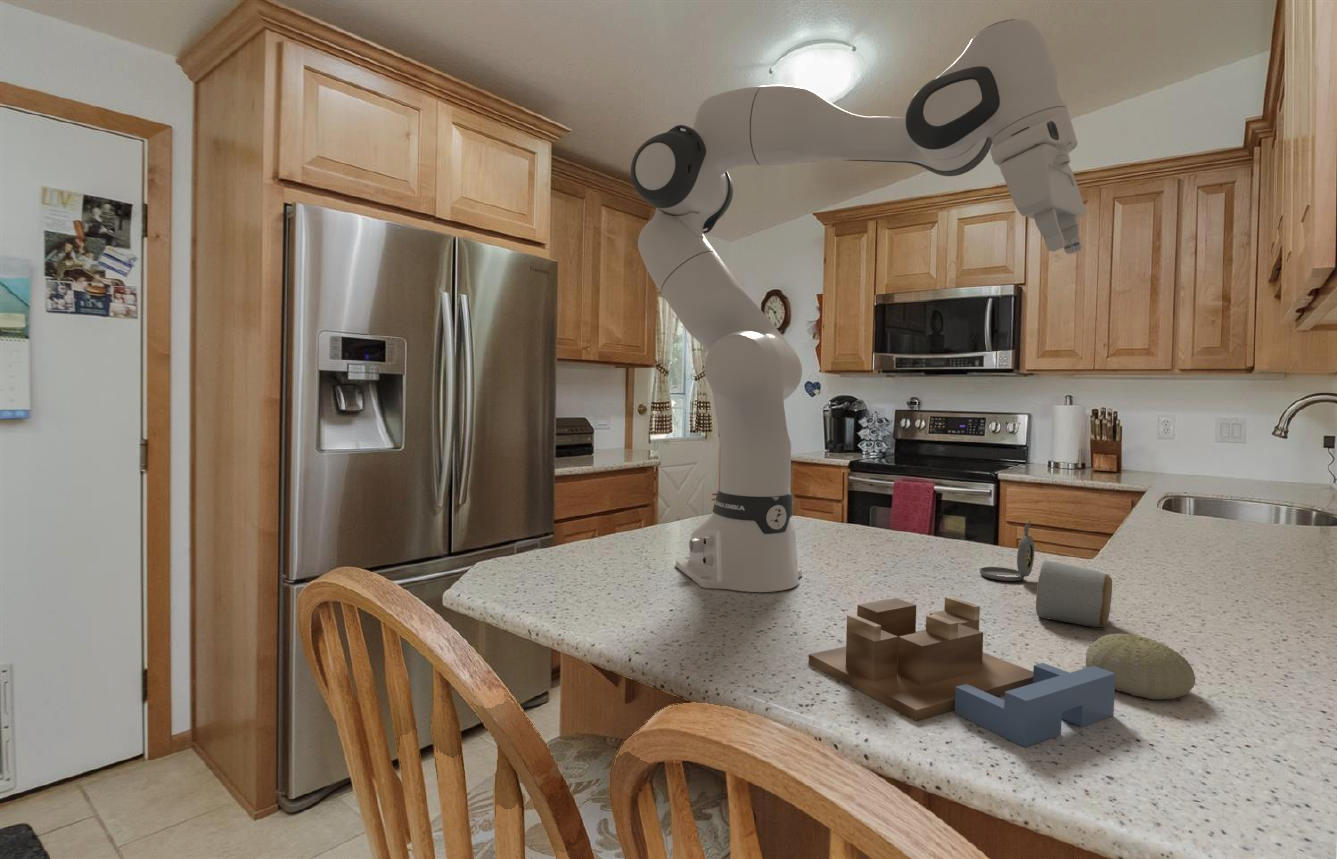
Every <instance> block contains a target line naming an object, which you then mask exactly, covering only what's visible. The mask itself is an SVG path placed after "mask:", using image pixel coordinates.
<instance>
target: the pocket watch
mask: <svg viewBox="0 0 1337 859" xmlns="http://www.w3.org/2000/svg"><path fill="white" fill-rule="evenodd" d="M1031 523H1032V521H1031V520H1028V521H1027V522H1026V524H1025V526H1024V528H1023V534H1024V535H1023V536H1022V537H1021V539H1020V541H1019V544H1018V548H1017V555H1016V566H1017V569H1013V568H1008V567H1002V566H1000V567H999V566H985V567H981V568H979V574H980V575H981V576H983V577H985V578H988V579H992V580H995V579H996V581H1004V582H1017V581H1022V580H1023V579H1025V577H1029V576H1030V574H1031V572H1032V570H1033V566H1034V560H1035V542H1034V538H1033V537H1032V536H1030V535H1029V531H1030V528H1031ZM997 575H1016V576H1018V577H1005V576H997Z"/></svg>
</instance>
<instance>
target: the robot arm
mask: <svg viewBox="0 0 1337 859" xmlns="http://www.w3.org/2000/svg"><path fill="white" fill-rule="evenodd" d="M1054 64H1055V63H1054V61H1053V58H1052V55H1051V53H1050V50H1049V47H1048V45H1047V43H1046V41H1045V39H1044V36H1043V35H1042V33H1041V31H1040V30H1039V28H1038V27H1037V26H1036V25H1035V24H1034V23H1033V22H1032V21H1029V20H1026V19H1019V18H1018V19H1017V18H1016V19H1014V18H1013V19H1006V20H1002V21H997V22H995V23H993V24H991V25H989V26H987V27H985V28H984V29H982V30H980V31H979V32H978V33H976V34H975V35H974V36H973V37H972V39H971V40H970V42H969V44H968V45H967V47H966V48H965V50H964V51H963V53H961V55H959V57H958V58H957V59H956V60H955V61H954V62H953V63H952V64H951V65H950V66H949V67H948V68H947V69H945V70H944V71H943V72H942V73H941V74H939V75H938V76H937V77H936V78H934V79H931V80H930V81H928V82H926V83H925V84H924V85H922V87H921V88H919V89H918V90H917V91H916V92H915V94H914V95H913V96H912V98H911V100H910V102H909V103H908V107H907V109H906V113H905V116H864V115H858V114H855V113H852V112H848V111H846V110H844V109H842V108H840V107H838V106H836V105H835V104H833V103H831V102H830V101H829V100H826V99H825V98H824V97H822V96H821V95H820V94H818V93H817V92H814V91H813V90H812V89H809V88H805V87H799V86H793V85H785V84H775V85H774V84H770V85H759V86H748V87H743V88H738V89H732V90H728V91H724V92H721V93H718V94H714V95H712V96H709V97H708V98H706V99H705V100H704V101H703V102H701V104H700V105H699V107H698V109H697V111H696V113H695V118H694V124H693V127H690V126H688V125H684V124H678V125H675V126H674V127H672V128H671V129H669V130H668V131H667V132H663V133H660V134H656V135H654V136H653V137H650V138H649V139H647V140H646V141H645V142H644V143H643V144H641V146H639V147H638V149H637V150H636V152H635V153H634V155H633V158H632V160H631V161H632V162H631V164H630V178H631V183H632V185H633V186H634V189H635V191H636V192H637V194H638V195H639V196H640V198H642V199H643V200H644V201H645V202H646V203H647V204H649V205H650V206H652V207H654V208H655V211H654V215H653V217H652V219H650V220H648V222H647V223H646V224H645V225H644V226H643V228H642V229H641V231H640V233H639V236H638V239H637V247H638V252H639V254H640V257H641V259H642V261H643V264H644V266H645V268H646V271H647V272H648V273H649V275H650V278H651V279H652V281H653V283H654V285H655V286H656V288H657V289H658V291H659V292H660V294H661V296H662V297H663V298H664V300H665V301H666V303H668V305H669V307H670V308H671V310H672V311H673V313H674V315H676V317H677V318H678V320H679V321H680V322H681V324H682V326H683V327H684V328H685V330H686V331H687V333H688V334H689V335H690V336H692V337H693V338H694V339H695V340H696V341H697V342H698V343H699V344H700V345H702V347H703V348H704V349H705V350H706V351H707V354H706V356H705V361H704V375H705V378H706V380H707V383H708V385H709V386H710V389H711V393H712V398H713V404H714V411H715V415H716V423H717V428H718V433H719V434H718V436H719V445H720V446H719V447H720V448H719V449H720V451H719V453H720V456H719V458H720V460H719V463H720V465H719V466H720V467H719V490H718V491H717V492H716V493H715V492H714V493H711V496H716V497H714V498H713V497H712V498H711V501H714V504H713V507H712V512H713V513H712V514H711V515H710V516H709V517H708V518H706V520H705V521H704V522H703V523H701V524H700V525H699V526H698V527H697V528H696V529H695V530H694V531H692V533H691V536H690V540H689V541H688V542H689V543H688V546H689V555H688V556H684V557H681V558H678V559H676V560H675V565H674V566H675V567H676V568H678V570H680V571H681V572H682V573H684V575H686V576H688V577H689V578H690V579H691V580H693V581H694V582H695V583H696V584H698V585H699V586H700V587H702V588H704V589H719V590H720V589H723V590H724V589H725V590H731V591H740V592H749V593H750V592H752V593H769V592H779V591H785V590H786V591H787V590H790V589H792V588H795V587H797V586H798V585H799V583H800V580H799V578H800V577H801V576H802V575H803V573H802V572H803V571H802V568H801V567H799V566H798V552H797V541H796V540H797V538H796V527H795V526H794V524H792V522H791V517H792V516H793V515H794V514H793V512H794V511H793V510H794V509H793V508H794V500H793V498H794V496H793V493H791V472H792V471H791V469H792V468H791V464H792V463H791V462H792V458H791V457H792V441H791V439H790V437H789V436H790V435H789V431H788V427H787V418H786V412H785V403H784V402H785V400H786V399H788V398H789V397H790V396H791V395H792V394H794V392H795V391H796V390H797V388H798V387H799V385H800V383H801V380H802V375H803V368H802V362H801V359H800V357H799V356H798V354H797V352H796V351H795V350H794V348H793V347H792V346H791V345H790V343H789V342H788V341H787V340H786V338H785V337H784V336H783V335H782V333H781V332H780V331H779V330H778V328H777V327H776V325H775V324H773V322H772V321H771V320H770V319H769V318H768V317H767V315H766V314H765V313H764V312H763V311H762V310H761V308H760V307H759V306H758V305H757V303H755V302H754V300H752V298H751V297H750V296H749V295H748V294H747V292H746V291H745V290H744V289H743V287H742V286H741V285H740V283H739V281H737V279H736V278H735V276H734V275H733V274H732V272H731V271H730V270H729V268H728V266H727V265H726V264H725V263H724V260H722V259H721V257H720V256H719V254H718V253H717V251H716V250H715V249H714V248H713V246H712V245H711V243H710V242H709V241H708V239H707V237H706V236H705V234H709V232H711V231H712V230H713V229H714V226H715V225H716V223H717V222H718V221H719V220H720V218H722V217H723V216H724V214H725V213H726V212H727V210H728V209H729V207H730V205H731V203H732V199H733V198H734V184H733V180H732V178H731V177H730V176H731V175H729V173H728V171H730V170H732V169H734V168H736V167H742V166H745V165H746V166H780V165H795V164H804V163H805V164H806V163H807V164H808V163H818V162H819V163H821V162H836V161H838V162H839V161H846V162H847V161H850V162H851V161H852V162H877V163H880V162H881V163H904V164H905V163H906V164H910V165H911V164H912V165H916V166H918V167H921V168H922V169H925V170H928V171H929V172H931V173H933V174H936V175H939V176H943V177H956V176H961V175H963V174H966V173H968V172H971V171H972V170H973V169H975V168H976V167H977V166H978V165H980V164H981V163H982V162H983V160H984V159H985V158H986V157H987V155H988V153H990V155H991V157H992V158H991V159H992V161H993V164H994V165H996V166H998V168H999V169H1000V172H1001V175H1002V176H1003V179H1004V181H1005V184H1006V188H1007V189H1008V191H1009V194H1010V197H1011V199H1012V201H1013V202H1012V203H1013V204H1014V206H1015V208H1016V210H1017V211H1018V213H1019V214H1020V215H1021V216H1022V217H1025V218H1026V217H1027V218H1030V219H1033V220H1034V222H1035V225H1036V227H1037V230H1038V232H1039V233H1040V234H1041V236H1042V237H1041V238H1043V240H1044V244H1045V247H1046V249H1047V251H1048V252H1053V253H1054V252H1057V251H1059V250H1062V249H1064V253H1066V254H1068V255H1072V254H1076V253H1078V252H1080V251H1082V249H1083V245H1082V241H1081V238H1080V225H1079V221H1078V220H1079V219H1081V218H1083V217H1085V215H1086V207H1085V204H1084V201H1083V198H1082V195H1081V192H1080V189H1079V186H1078V183H1077V180H1076V178H1075V175H1074V172H1073V171H1072V169H1071V168H1072V167H1071V166H1070V163H1071V159H1070V155H1069V153H1071V152H1072V151H1074V149H1075V148H1077V146H1078V143H1079V142H1078V140H1077V137H1076V133H1075V130H1074V127H1073V124H1072V119H1071V117H1070V113H1069V111H1068V107H1067V105H1066V103H1065V101H1064V100H1063V99H1062V98H1061V96H1060V93H1059V90H1058V73H1057V71H1056V67H1055V65H1054ZM682 129H683V130H682ZM989 151H990V152H989Z"/></svg>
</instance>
